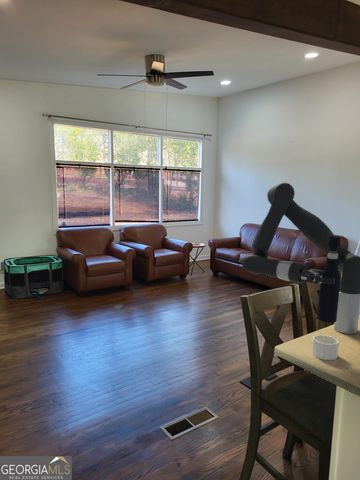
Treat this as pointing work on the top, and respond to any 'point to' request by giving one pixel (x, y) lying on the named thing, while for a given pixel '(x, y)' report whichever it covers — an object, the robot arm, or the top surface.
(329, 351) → the ceramic cup
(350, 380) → the top surface
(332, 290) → the black insulated water bottle
